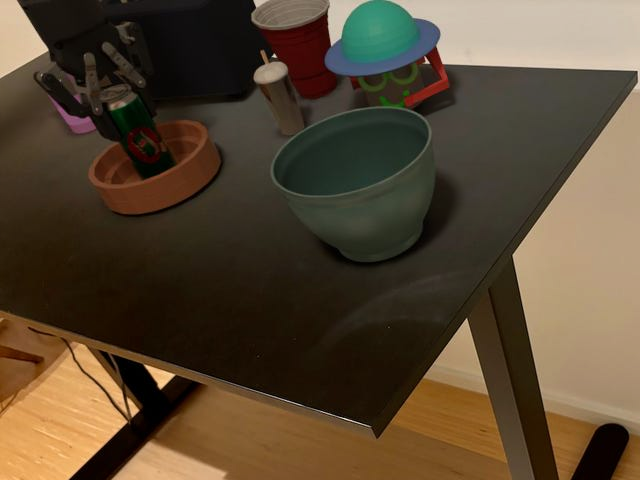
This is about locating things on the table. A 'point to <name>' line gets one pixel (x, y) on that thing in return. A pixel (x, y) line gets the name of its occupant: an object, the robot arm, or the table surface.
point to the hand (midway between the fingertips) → (133, 127)
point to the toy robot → (387, 54)
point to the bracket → (72, 121)
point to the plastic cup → (299, 41)
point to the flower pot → (360, 180)
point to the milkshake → (279, 95)
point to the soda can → (137, 131)
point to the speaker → (194, 45)
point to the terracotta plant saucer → (166, 188)
